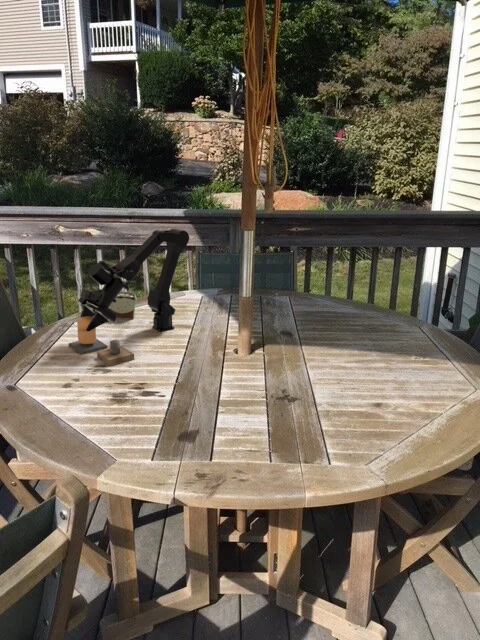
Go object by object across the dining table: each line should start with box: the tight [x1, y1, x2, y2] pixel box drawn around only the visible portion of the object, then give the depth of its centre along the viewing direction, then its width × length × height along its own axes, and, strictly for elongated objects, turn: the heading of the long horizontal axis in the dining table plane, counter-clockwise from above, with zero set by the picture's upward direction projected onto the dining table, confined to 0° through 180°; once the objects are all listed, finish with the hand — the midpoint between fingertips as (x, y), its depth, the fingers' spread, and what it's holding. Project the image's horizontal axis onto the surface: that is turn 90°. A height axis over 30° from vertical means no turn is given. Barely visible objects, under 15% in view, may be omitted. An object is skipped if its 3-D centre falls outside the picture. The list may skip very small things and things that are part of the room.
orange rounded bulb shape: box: [76, 316, 97, 344], centre depth 188 cm, size 6×6×8 cm
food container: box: [109, 290, 138, 320], centre depth 221 cm, size 12×6×10 cm, turn 84°
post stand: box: [96, 339, 135, 366], centre depth 180 cm, size 9×9×6 cm
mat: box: [67, 338, 108, 355], centre depth 190 cm, size 10×10×1 cm
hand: (82, 328), depth 187 cm, fingers closed on orange rounded bulb shape, 6 cm apart
